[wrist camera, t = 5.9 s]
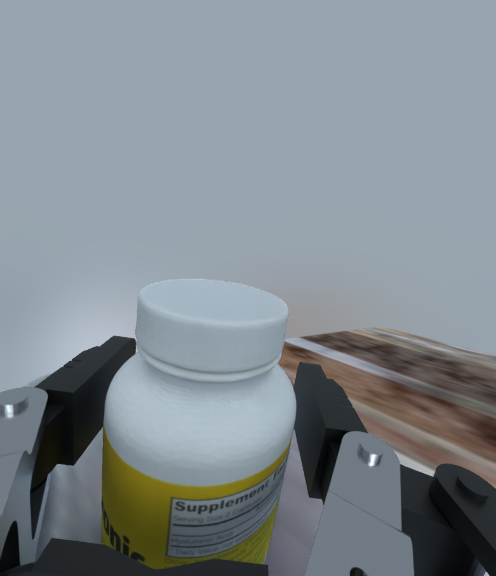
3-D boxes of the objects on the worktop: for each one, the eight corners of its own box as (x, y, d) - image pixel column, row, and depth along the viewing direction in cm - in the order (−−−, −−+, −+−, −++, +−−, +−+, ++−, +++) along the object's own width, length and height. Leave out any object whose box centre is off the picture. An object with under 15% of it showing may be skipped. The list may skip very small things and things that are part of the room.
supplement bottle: (107, 504, 11) (115, 267, 9) (232, 473, 13) (264, 277, 11) (84, 741, 6) (89, 339, 4) (290, 630, 8) (368, 332, 6)
